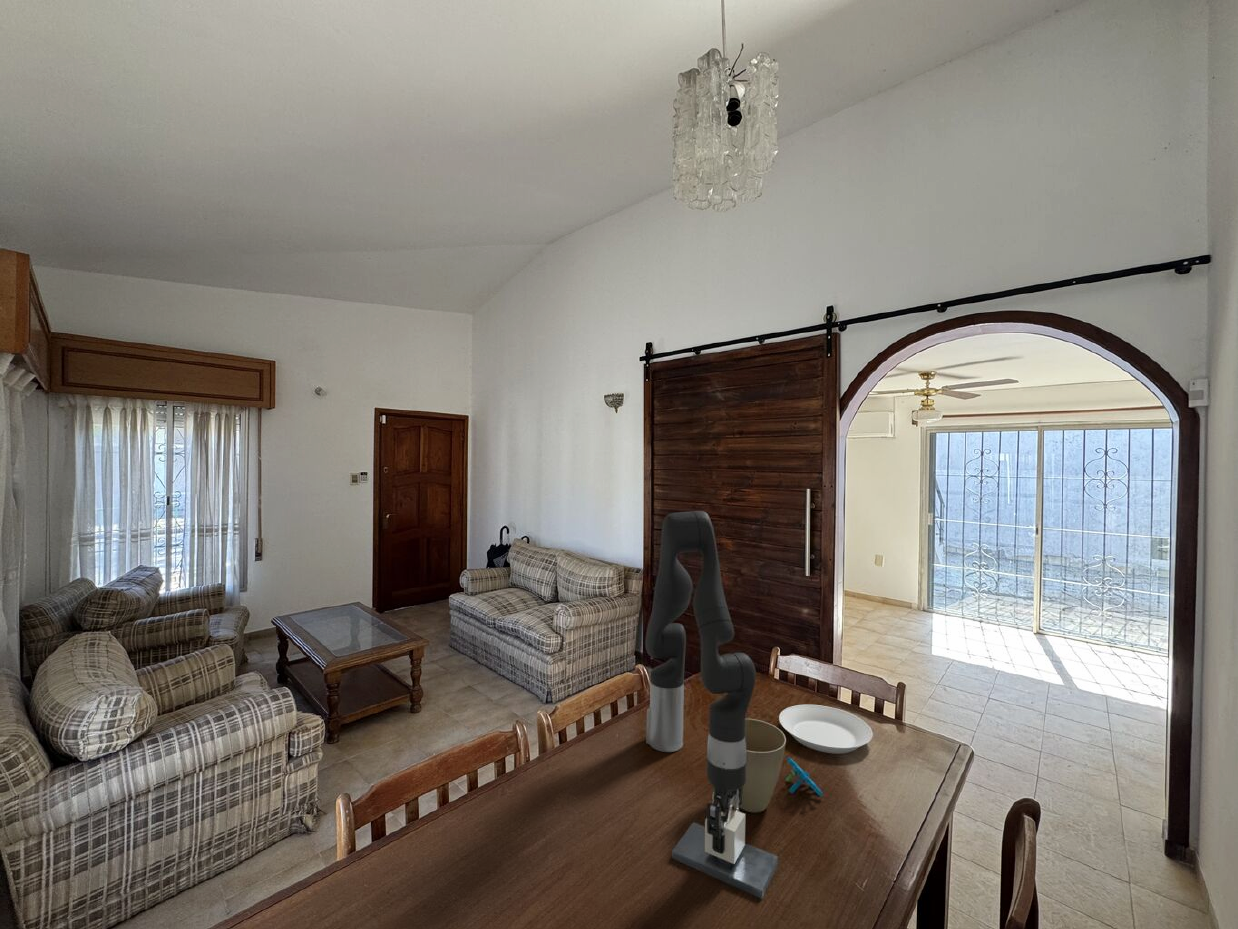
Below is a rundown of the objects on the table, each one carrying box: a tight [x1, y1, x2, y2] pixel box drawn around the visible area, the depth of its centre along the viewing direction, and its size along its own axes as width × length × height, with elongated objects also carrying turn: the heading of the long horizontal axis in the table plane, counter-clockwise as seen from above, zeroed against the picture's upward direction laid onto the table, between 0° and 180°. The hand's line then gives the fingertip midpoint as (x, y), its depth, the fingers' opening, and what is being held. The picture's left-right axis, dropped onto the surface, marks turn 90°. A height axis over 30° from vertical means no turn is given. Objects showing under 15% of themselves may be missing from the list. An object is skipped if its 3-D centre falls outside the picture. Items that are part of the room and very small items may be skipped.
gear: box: [785, 756, 824, 797], centre depth 129 cm, size 11×6×10 cm
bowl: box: [778, 704, 874, 754], centre depth 155 cm, size 25×25×4 cm
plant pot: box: [739, 718, 787, 813], centre depth 124 cm, size 15×15×16 cm
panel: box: [671, 821, 779, 900], centre depth 106 cm, size 18×10×6 cm, turn 58°
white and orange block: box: [704, 807, 746, 864], centre depth 106 cm, size 6×6×7 cm
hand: (724, 840), depth 106 cm, fingers open, 6 cm apart
